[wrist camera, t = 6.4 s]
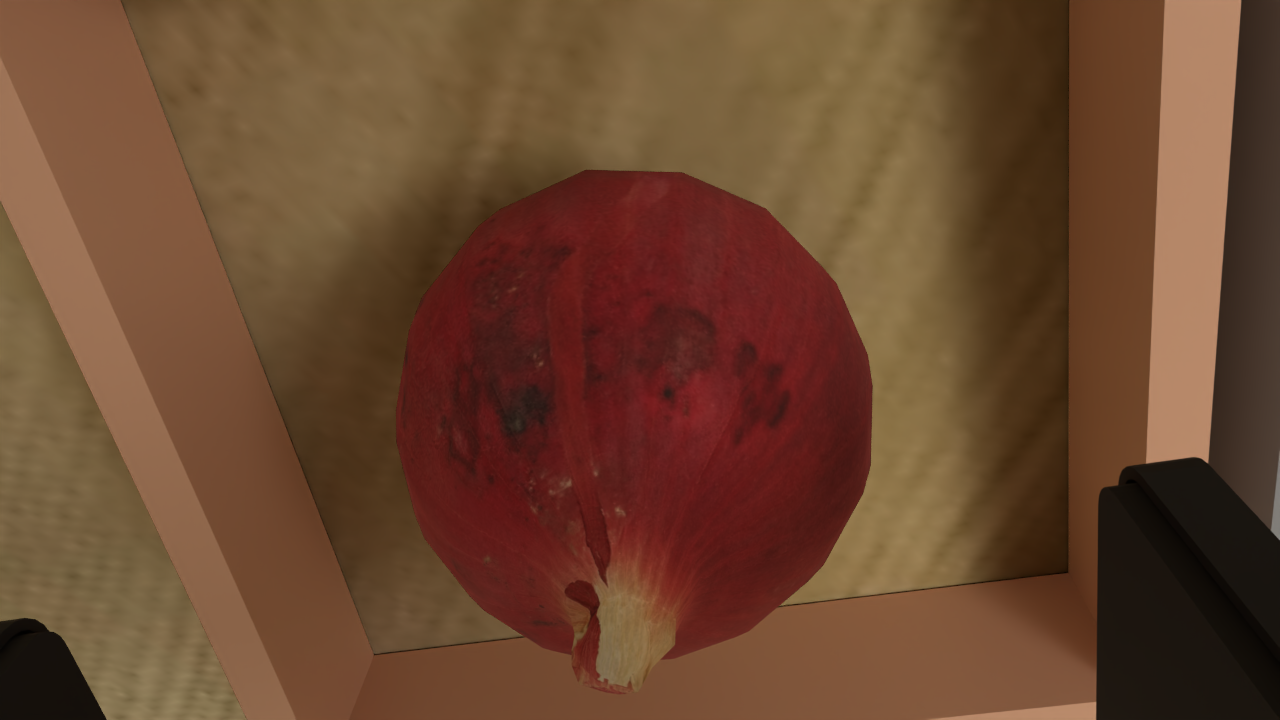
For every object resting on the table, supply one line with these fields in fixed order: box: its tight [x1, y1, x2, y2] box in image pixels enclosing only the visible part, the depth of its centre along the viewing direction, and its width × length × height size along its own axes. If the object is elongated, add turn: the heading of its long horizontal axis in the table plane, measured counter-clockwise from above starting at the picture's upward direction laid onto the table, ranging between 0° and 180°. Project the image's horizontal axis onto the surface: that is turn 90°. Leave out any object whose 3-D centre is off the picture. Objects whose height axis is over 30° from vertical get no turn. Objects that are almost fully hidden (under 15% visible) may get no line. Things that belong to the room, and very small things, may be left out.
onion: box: [396, 170, 873, 694], centre depth 12 cm, size 6×6×8 cm
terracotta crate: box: [0, 0, 1241, 720], centre depth 15 cm, size 15×15×3 cm
